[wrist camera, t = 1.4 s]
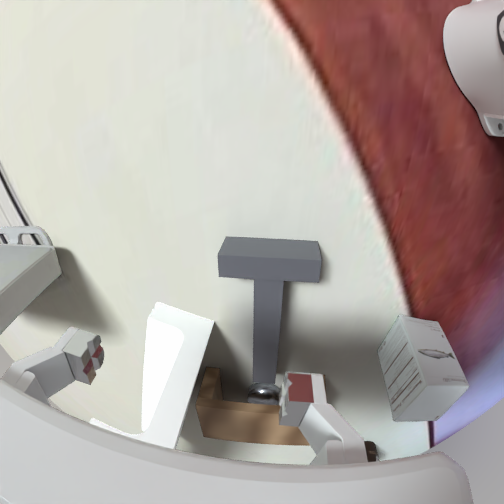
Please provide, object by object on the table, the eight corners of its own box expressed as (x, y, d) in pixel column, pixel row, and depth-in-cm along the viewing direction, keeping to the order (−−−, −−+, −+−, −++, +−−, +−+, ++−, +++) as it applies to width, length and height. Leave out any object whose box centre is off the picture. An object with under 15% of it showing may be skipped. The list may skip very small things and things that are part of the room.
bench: (324, 374, 41) (327, 415, 34) (314, 409, 46) (315, 445, 39) (206, 366, 43) (195, 405, 36) (212, 402, 47) (203, 436, 41)
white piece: (181, 429, 54) (148, 539, 29) (146, 417, 54) (106, 524, 29) (214, 321, 38) (148, 531, 13) (157, 301, 38) (57, 490, 13)
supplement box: (438, 320, 35) (472, 386, 24) (413, 356, 38) (436, 422, 27) (398, 311, 35) (428, 385, 24) (374, 351, 38) (392, 423, 27)
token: (280, 382, 43) (280, 392, 41) (278, 399, 45) (278, 409, 43) (249, 380, 43) (247, 389, 42) (249, 397, 46) (247, 406, 44)
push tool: (317, 240, 32) (321, 260, 28) (300, 364, 41) (300, 387, 37) (226, 236, 33) (217, 254, 29) (232, 359, 42) (226, 382, 38)
